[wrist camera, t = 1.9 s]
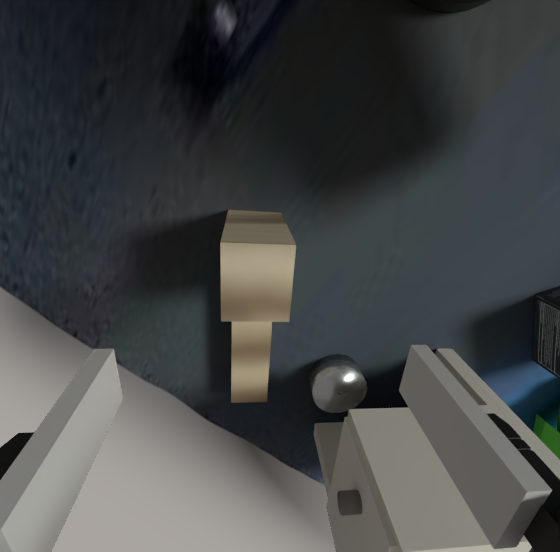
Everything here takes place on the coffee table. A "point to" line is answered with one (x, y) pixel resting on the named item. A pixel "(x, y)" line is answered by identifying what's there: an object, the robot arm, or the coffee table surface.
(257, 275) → the tan l-shaped block
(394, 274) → the coffee table surface
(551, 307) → the small box
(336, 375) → the grey rounded puck
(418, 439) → the cabinet
